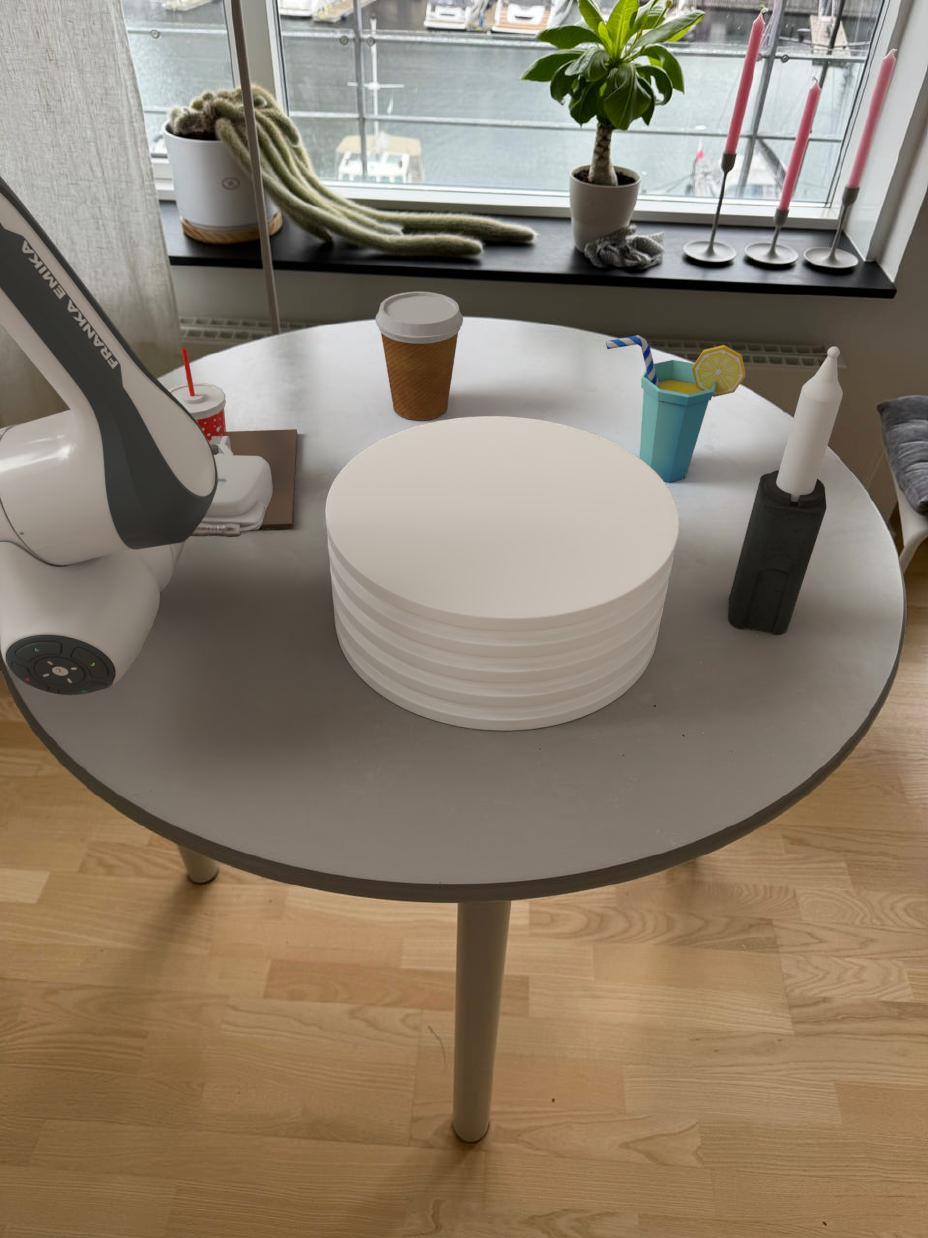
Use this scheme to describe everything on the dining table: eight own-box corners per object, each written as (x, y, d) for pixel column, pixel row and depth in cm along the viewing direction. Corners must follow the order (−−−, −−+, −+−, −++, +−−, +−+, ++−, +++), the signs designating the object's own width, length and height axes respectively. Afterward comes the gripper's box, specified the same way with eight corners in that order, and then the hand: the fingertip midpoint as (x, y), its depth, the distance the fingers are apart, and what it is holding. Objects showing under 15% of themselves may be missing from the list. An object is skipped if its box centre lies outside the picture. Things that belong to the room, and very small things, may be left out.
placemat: (101, 536, 92) (99, 531, 91) (130, 439, 105) (129, 434, 105) (292, 528, 93) (292, 523, 93) (297, 433, 107) (296, 428, 106)
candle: (786, 600, 86) (869, 336, 70) (787, 637, 83) (875, 367, 66) (728, 591, 87) (797, 327, 71) (727, 627, 84) (799, 358, 67)
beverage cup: (239, 489, 97) (219, 359, 88) (177, 496, 96) (150, 365, 87) (235, 457, 102) (215, 331, 92) (175, 464, 100) (149, 336, 91)
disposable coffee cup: (362, 408, 111) (356, 307, 103) (418, 380, 117) (416, 282, 109) (423, 437, 107) (422, 334, 99) (478, 406, 112) (481, 306, 104)
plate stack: (598, 506, 97) (611, 403, 90) (709, 703, 77) (739, 591, 69) (319, 536, 92) (309, 430, 85) (357, 755, 72) (348, 641, 64)
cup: (595, 489, 100) (613, 353, 90) (585, 450, 105) (600, 318, 96) (729, 488, 100) (761, 353, 90) (711, 449, 106) (739, 318, 96)
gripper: (253, 501, 74) (281, 412, 84) (-14, 494, 74) (48, 406, 84) (263, 566, 78) (289, 474, 89) (10, 560, 78) (66, 468, 89)
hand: (169, 441), depth 86 cm, fingers open, 8 cm apart
